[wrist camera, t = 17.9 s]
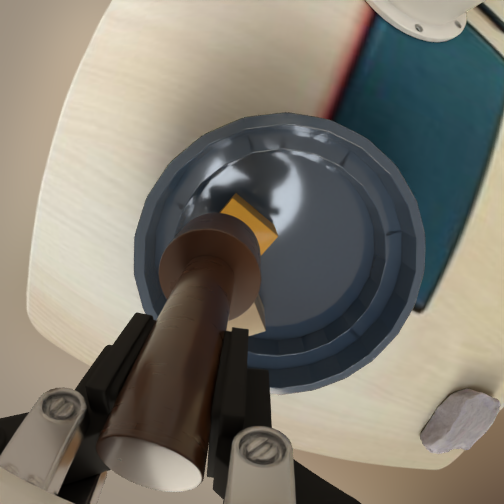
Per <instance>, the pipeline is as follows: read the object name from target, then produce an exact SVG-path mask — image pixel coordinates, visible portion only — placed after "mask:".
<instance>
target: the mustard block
mask: <svg viewBox="0 0 504 504" xmlns="http://www.w3.org/2000/svg"><path fill="white" fill-rule="evenodd" d="M219 213H224V214H228V215H232V216H234V217H236V218H238V219H240V220H241V221H243V222H244V223H245V224H247V225H248V226H249V227H250V229H251V230H252V231H253V233H254V234H255V236H256V238H257V240H258V243H259V246H260V253H261V255H262V254H263V253H264V252H265V251H266V250H267V248H268V247H269V246H270V245H271V244H272V243H273V242H274V241H275V240H276V238H277V237H278V234H277V232H276V229H275V226H274V224H272V223H271V222H270V221H269V220H268V219H267V218H265V217H264V216H263V215H262V214H261V213H259V212H258V211H257V210H256V209H255V208H254V207H252V206H251V205H250V204H249V203H248V202H246V201H245V200H244V199H243V198H242V197H240V196H239V195H238V194H237V193H235V194H234V195H233V197H232V198H231V199H230V200H229V201H228V202H227V204H226V205H225V206H224V207H223V208H222V210H221V211H220V212H219Z"/></svg>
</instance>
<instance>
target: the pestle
mask: <svg viewBox="0 0 504 504" xmlns="http://www.w3.org/2000/svg"><path fill="white" fill-rule="evenodd" d="M159 281H160V285H161V288H162V291H163V293H164V295H165V297H166V298H167V301H166V303H165V305H164V307H163V309H162V311H161V313H160V315H159V316H158V318H157V320H156V322H155V324H154V326H153V328H152V330H151V332H150V334H149V336H148V337H147V339H146V341H145V343H144V345H143V347H142V349H141V351H140V353H139V355H138V357H137V359H136V361H135V363H134V365H133V367H132V369H131V371H130V373H129V375H128V377H127V379H126V381H125V383H124V385H123V387H122V389H121V391H120V393H119V395H118V397H117V400H116V402H115V404H114V406H113V408H112V410H111V412H110V414H109V416H108V419H107V421H106V423H105V425H104V427H103V429H102V431H101V434H100V436H99V438H98V440H97V442H96V450H97V453H98V455H99V457H100V459H101V460H102V461H103V462H104V463H105V464H106V465H107V466H108V467H109V468H110V469H111V470H112V471H114V472H115V473H117V474H118V475H120V476H121V477H123V478H125V479H127V480H129V481H131V482H133V483H136V484H138V485H141V486H144V487H147V488H151V489H155V490H160V491H169V492H180V491H187V490H191V489H194V488H196V487H197V486H199V485H200V484H201V482H202V481H203V479H204V472H205V465H206V458H207V451H208V445H209V438H210V432H211V411H212V404H213V398H214V392H215V386H216V381H217V375H218V369H219V363H220V357H221V352H222V346H223V340H224V334H225V331H226V330H227V324H228V321H230V320H233V319H235V318H237V317H239V316H241V315H242V314H243V313H245V312H246V311H247V310H248V309H249V308H250V307H251V306H252V304H253V303H254V302H255V300H256V298H257V296H258V293H259V290H260V285H261V253H260V246H259V243H258V240H257V238H256V236H255V234H254V233H253V231H252V230H251V229H250V227H249V226H248V225H247V224H245V223H244V222H243V221H241V220H240V219H238V218H236V217H234V216H232V215H228V214H224V213H207V214H203V215H200V216H198V217H196V218H194V219H192V220H191V221H190V222H188V223H187V224H186V225H185V226H184V227H183V228H182V230H181V231H180V232H179V233H178V234H177V236H176V237H175V238H174V239H173V240H172V242H171V243H170V244H169V245H168V247H167V248H166V249H165V251H164V253H163V255H162V257H161V260H160V264H159Z"/></svg>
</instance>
